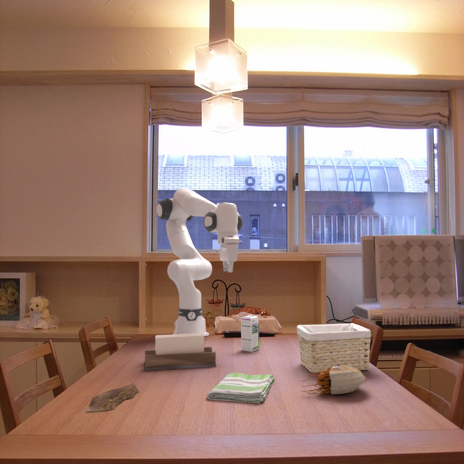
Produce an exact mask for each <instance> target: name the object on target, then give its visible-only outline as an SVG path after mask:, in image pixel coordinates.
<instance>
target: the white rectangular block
mask: <svg viewBox="0 0 464 464" xmlns="http://www.w3.org/2000/svg"><path fill="white" fill-rule="evenodd" d="M172 334H173V333H172ZM172 334H157V335H155V337H154V338H155V339H154V340H155V342H154V344H155V348H154V350H155V355H163V354H180V353H198V352H204V347H205V336H204V335H203V334H202V333H192V334H173V335H172Z"/></svg>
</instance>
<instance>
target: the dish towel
mask: <svg viewBox="0 0 464 464" xmlns="http://www.w3.org/2000/svg"><path fill="white" fill-rule="evenodd" d="M273 376H274V375H273V374H272V373H269V374H246V373H242V372H229V373H227V375H226V376H224V377H223V379H221V380H220V382H219V383H217V384H216V385H214V387H213V388H212V390H209V391H208V392H207V394H206V398H207V399H209V400H212V401H224V402H225V401H226V402H238V403H239V402H240V403H247V402H248V403H247V404H249V403H255V404H261V403H262V402H264V400H265V399H266V397H267V395H268V392H269V391H270V389H271V387H272V385H273V384H274V382H275V378H274V377H273Z"/></svg>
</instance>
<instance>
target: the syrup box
mask: <svg viewBox="0 0 464 464" xmlns="http://www.w3.org/2000/svg"><path fill="white" fill-rule="evenodd" d="M259 319H260V317H259V316H257V315H246V316H242V317H240V335H241V337H240V339H241V341H240V342H241V345H240V346H241V351H244V352H250V353H251V352H252V353H253V352H256V351H259V350H260V327H259V326H260V324H259V323H260V322H259V321H260V320H259Z"/></svg>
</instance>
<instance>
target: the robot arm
mask: <svg viewBox="0 0 464 464" xmlns="http://www.w3.org/2000/svg"><path fill="white" fill-rule="evenodd" d="M155 210H156V215H157V217H158V218H159V219H160V220H163V221H166V223H165V229H166V234H167V239H168V241H169V242H168V243H169V245H170V248H171V250H172V253H173V254H174V255H175V256H176V257H178V258H179V259H176V260H172V261H170V262H169V264H168V266H167V270H166V271H167V276H168V278H169V279H170V280H172V281H173V282H174V284H175V286H176V288H177V291H178V300H179V303H178V305H179V307H178V312H177V313H178V318H177V319H176V320H175V321H174V324H173V327H175V328H174V331H173V332H172V334H171V335H173V334H192V333H202V334H203V335H204V337H207V336H210V333H209V332H207V329H206V319H205V318H204V317H203V307H202V292H201V291H200V290H199V289H198V288H196V286H195V283H194V281H201V280H205V279H207V278H209V277H210V276H211V275H212V273H213V266H212V264H211V262H210V261H209V260H207V259H206V258H204V257H203V255H201V254H200V252H198V250H197V248H195V245H194V244H193V241H192V238H191V236H190V233H189V230H188V227H187V224H186V221H187V222H190V221H191V220H192V219H193V218H194V217H203V226H204V229H205V230H206V231H207V232H209V233H213V234H215V233H216V234H217V244H219V245H220V246H219V261H221V262H222V266H223V272H228V273H233V270H234V263H235V262H237V261H238V254H239V252H238V251H239V243H240V238H239V232H240V230H242V228H243V225H244V223H243V222H244V221H243V218H242V216H241V214H240V213H239V212H238V207H237V205H236V204H235V203H233V202H223V201H222V202H218V204H216V203H213V201H210V200H208V199H207V198H205V197H203V196H201V195H200V194H198V193H197V192H196V191H194V190H192V189H189V188H186V187H180V188H179V189H178V188H177V190H175V192H174V194H173V197H172V198H168V197H167V198H164V199H162V200H159V201H158V202H157V204H156V209H155Z"/></svg>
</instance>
